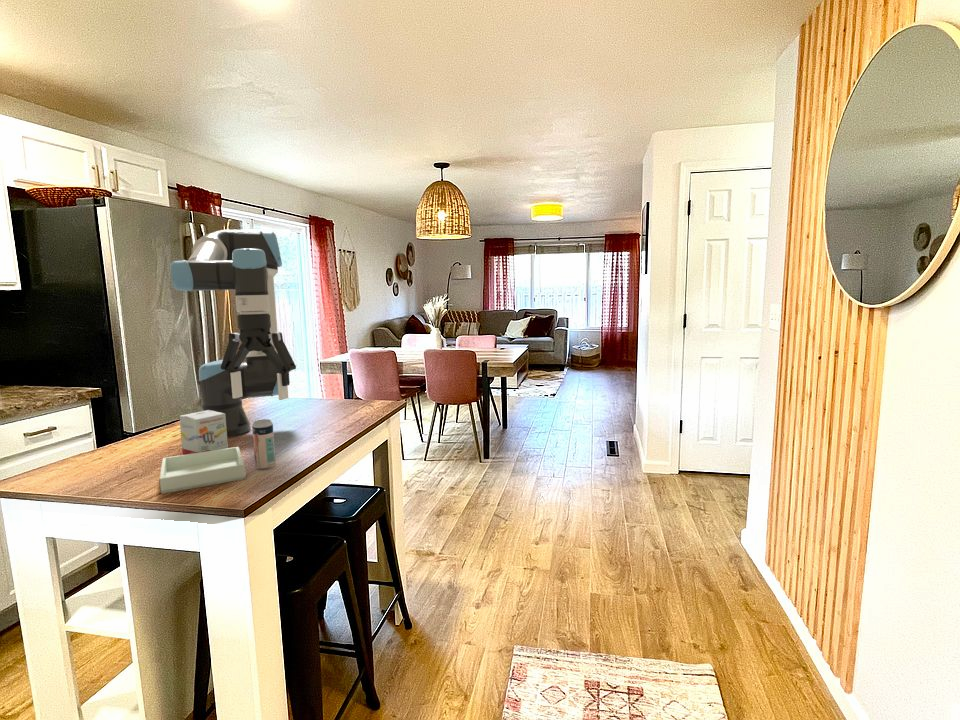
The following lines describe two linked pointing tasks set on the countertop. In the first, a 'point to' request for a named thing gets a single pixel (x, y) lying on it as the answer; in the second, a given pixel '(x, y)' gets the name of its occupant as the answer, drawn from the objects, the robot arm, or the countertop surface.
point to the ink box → (203, 432)
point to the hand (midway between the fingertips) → (260, 398)
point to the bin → (201, 469)
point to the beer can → (264, 444)
